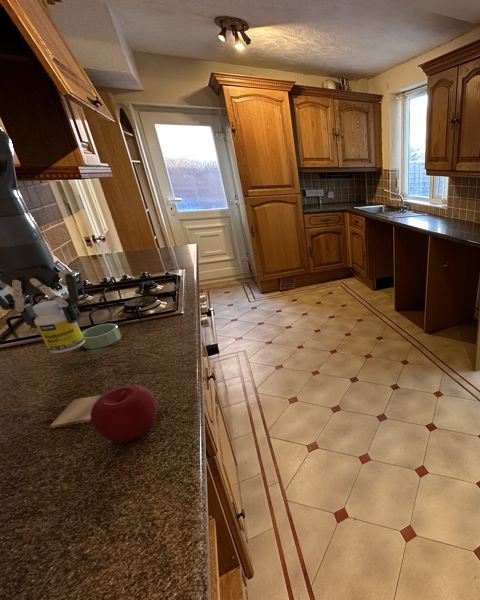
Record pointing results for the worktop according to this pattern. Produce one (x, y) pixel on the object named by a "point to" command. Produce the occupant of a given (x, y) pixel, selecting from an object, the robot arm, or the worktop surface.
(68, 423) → the board
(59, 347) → the supplement bottle
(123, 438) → the apple
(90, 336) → the bowl
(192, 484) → the worktop surface
